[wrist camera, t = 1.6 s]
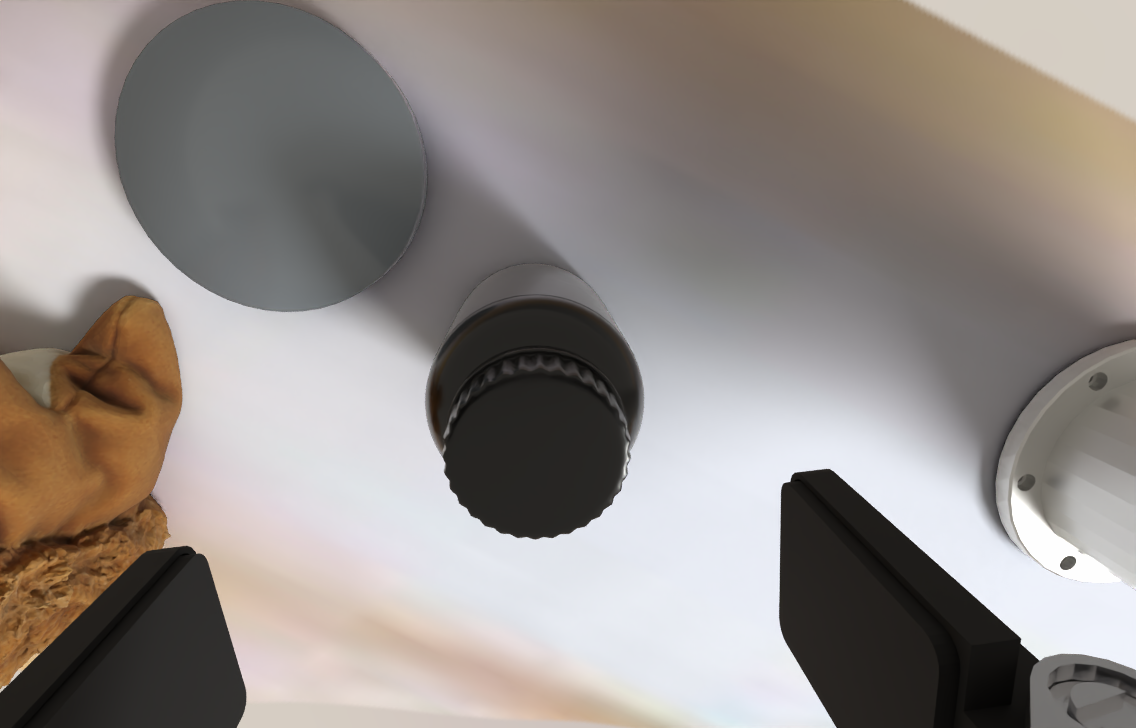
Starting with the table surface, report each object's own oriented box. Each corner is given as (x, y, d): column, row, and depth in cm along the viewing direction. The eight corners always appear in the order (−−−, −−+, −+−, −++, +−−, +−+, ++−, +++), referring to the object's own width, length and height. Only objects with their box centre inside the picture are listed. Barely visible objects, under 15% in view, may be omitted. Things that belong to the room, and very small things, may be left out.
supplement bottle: (424, 310, 26) (341, 406, 14) (564, 232, 25) (594, 265, 14) (505, 439, 28) (489, 615, 16) (637, 368, 27) (717, 498, 16)
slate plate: (403, 0, 23) (395, -12, 21) (445, 292, 26) (440, 297, 24) (103, 25, 22) (74, 13, 21) (182, 317, 25) (161, 324, 24)
